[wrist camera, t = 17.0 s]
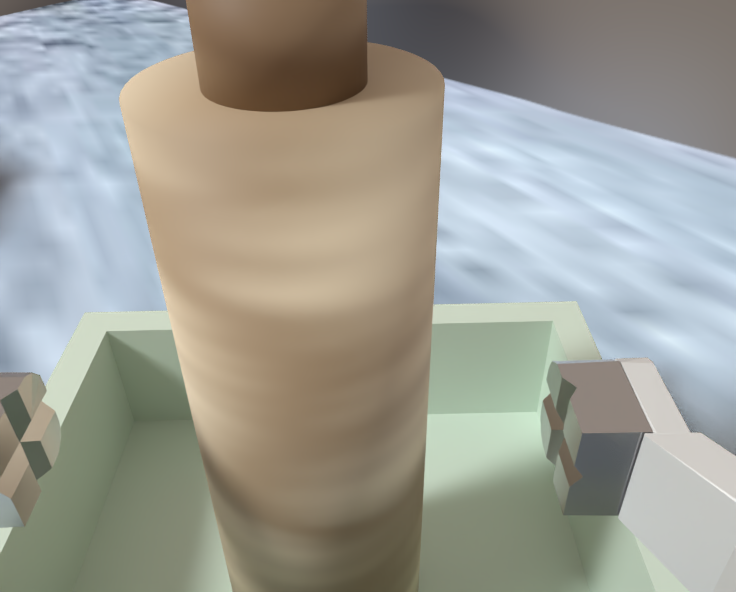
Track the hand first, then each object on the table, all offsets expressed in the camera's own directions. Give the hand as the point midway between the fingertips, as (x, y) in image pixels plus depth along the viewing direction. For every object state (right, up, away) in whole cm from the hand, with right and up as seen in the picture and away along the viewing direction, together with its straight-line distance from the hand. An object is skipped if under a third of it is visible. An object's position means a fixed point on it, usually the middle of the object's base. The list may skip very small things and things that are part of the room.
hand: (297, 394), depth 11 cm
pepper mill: (0, -7, +7) cm, 10 cm away
